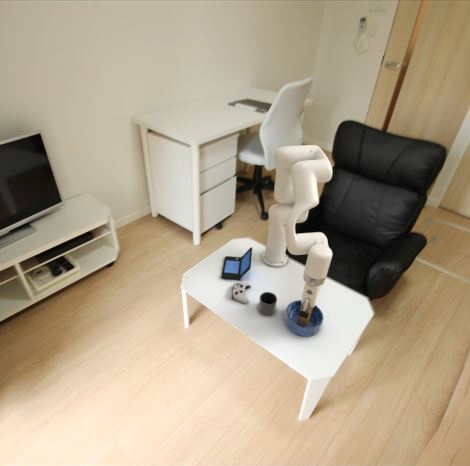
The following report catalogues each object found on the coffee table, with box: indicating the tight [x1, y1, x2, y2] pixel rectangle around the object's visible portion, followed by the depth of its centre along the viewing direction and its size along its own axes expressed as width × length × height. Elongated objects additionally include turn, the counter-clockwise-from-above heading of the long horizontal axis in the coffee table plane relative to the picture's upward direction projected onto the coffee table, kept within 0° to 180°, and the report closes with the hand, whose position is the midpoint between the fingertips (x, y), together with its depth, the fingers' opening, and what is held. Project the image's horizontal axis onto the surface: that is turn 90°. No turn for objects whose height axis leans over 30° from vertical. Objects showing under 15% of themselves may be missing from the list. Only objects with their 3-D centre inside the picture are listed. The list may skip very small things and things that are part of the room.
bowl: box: [284, 299, 324, 338], centre depth 126 cm, size 14×14×6 cm
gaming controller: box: [231, 281, 251, 305], centre depth 139 cm, size 11×6×7 cm
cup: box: [258, 291, 278, 316], centre depth 131 cm, size 7×7×7 cm
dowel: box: [297, 303, 313, 327], centre depth 123 cm, size 4×4×12 cm
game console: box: [220, 246, 253, 282], centre depth 150 cm, size 16×13×9 cm
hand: (306, 307), depth 122 cm, fingers open, 9 cm apart
